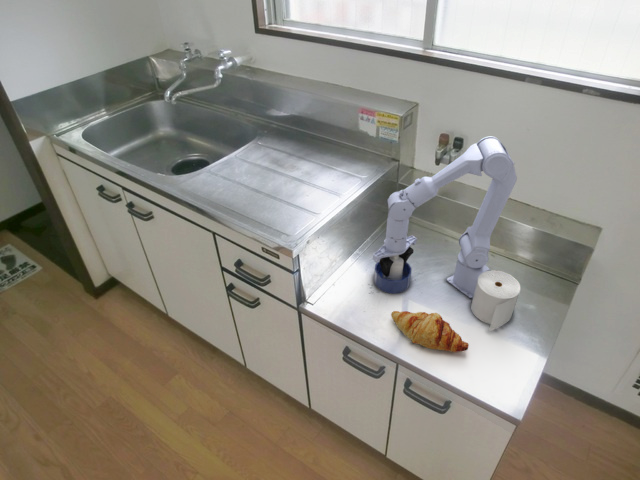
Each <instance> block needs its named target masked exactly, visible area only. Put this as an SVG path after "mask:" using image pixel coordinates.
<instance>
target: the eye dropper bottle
mask: <svg viewBox="0 0 640 480" xmlns="http://www.w3.org/2000/svg"><path fill="white" fill-rule="evenodd" d="M390 259H391V260H392V261H393V264H392V266H391V268H390V274H389V276H388V277H386V276H385V275H384V274H383V276H382V277H383V278H386V279H388V280H401V279H402V272H403V263H404V260H403V259H402V258H401V257H399V255H395V256H390Z"/></svg>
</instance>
